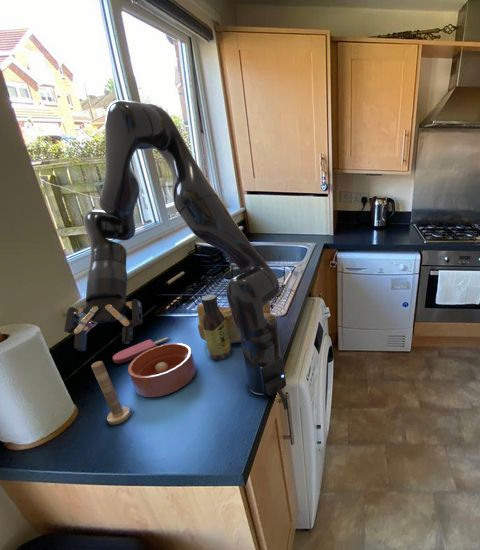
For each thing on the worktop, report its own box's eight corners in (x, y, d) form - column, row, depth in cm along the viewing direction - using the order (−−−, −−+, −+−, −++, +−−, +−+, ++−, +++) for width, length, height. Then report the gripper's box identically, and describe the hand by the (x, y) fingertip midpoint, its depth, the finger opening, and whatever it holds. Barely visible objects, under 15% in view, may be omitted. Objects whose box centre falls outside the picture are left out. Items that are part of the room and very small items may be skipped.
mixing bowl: (204, 378, 85) (199, 358, 83) (144, 408, 75) (136, 386, 73) (185, 355, 94) (180, 337, 91) (129, 380, 84) (122, 359, 82)
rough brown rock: (282, 321, 114) (277, 284, 109) (272, 345, 98) (265, 302, 93) (219, 325, 113) (211, 287, 108) (198, 349, 97) (188, 307, 92)
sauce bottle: (229, 359, 93) (216, 302, 85) (207, 362, 92) (192, 303, 84) (234, 346, 98) (222, 291, 91) (213, 348, 98) (200, 293, 90)
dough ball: (170, 371, 87) (167, 363, 86) (158, 376, 85) (155, 368, 84) (167, 366, 89) (164, 358, 88) (155, 371, 87) (152, 363, 85)
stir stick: (133, 416, 73) (111, 363, 67) (110, 428, 70) (85, 373, 64) (128, 407, 76) (107, 354, 70) (106, 417, 73) (82, 364, 67)
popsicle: (170, 338, 100) (115, 362, 89) (172, 342, 100) (117, 366, 90) (164, 332, 103) (109, 355, 92) (165, 336, 103) (111, 359, 93)
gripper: (61, 280, 70) (54, 350, 65) (134, 272, 74) (133, 337, 69) (81, 291, 77) (75, 355, 71) (147, 283, 81) (146, 343, 76)
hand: (103, 346), depth 70 cm, fingers open, 8 cm apart
